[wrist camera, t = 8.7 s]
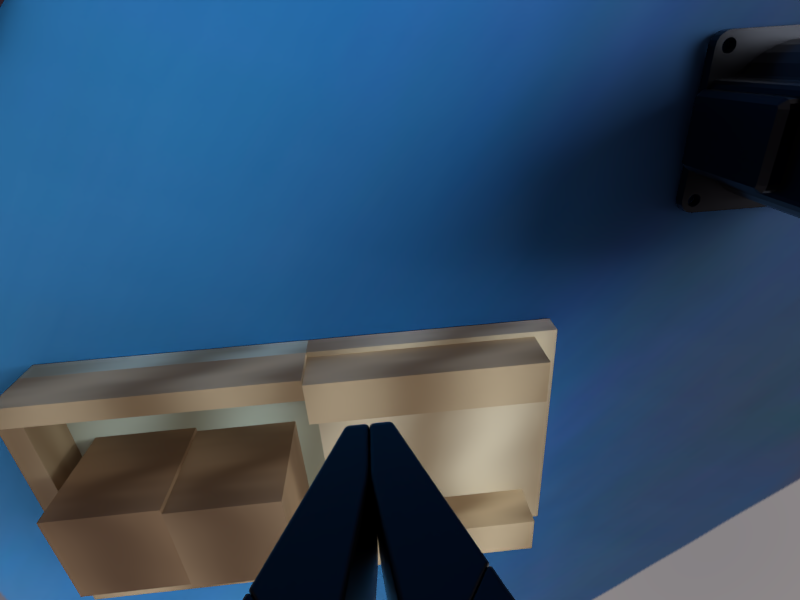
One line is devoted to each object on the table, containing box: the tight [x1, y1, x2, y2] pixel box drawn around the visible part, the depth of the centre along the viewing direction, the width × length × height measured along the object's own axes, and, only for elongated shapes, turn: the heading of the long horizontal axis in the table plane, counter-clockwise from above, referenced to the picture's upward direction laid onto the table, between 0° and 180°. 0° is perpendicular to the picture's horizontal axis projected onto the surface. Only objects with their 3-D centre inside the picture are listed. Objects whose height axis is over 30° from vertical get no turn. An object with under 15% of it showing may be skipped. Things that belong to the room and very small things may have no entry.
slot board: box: [0, 319, 557, 599], centre depth 23 cm, size 23×12×3 cm, turn 94°
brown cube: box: [162, 421, 309, 587], centre depth 21 cm, size 4×4×4 cm
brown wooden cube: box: [37, 428, 197, 597], centre depth 21 cm, size 4×4×4 cm
